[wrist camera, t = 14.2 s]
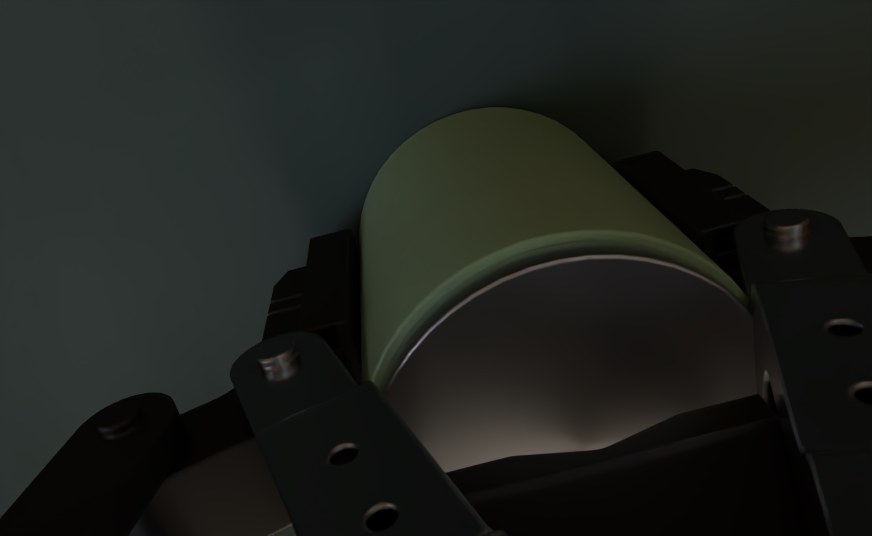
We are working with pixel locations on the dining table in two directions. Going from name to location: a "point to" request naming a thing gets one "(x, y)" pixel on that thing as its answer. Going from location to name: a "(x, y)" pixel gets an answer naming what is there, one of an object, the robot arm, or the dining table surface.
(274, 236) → the dining table surface
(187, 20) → the dining table surface
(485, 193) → the tin can
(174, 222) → the dining table surface
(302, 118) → the dining table surface
